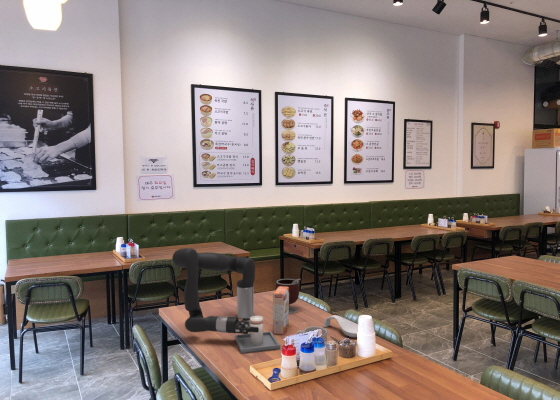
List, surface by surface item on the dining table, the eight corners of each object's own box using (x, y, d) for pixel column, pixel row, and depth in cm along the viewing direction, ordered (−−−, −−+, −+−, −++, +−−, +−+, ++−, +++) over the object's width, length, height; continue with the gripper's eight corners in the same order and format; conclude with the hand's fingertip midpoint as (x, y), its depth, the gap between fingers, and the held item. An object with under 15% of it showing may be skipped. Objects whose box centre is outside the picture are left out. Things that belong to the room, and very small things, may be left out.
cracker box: (284, 335, 219) (284, 293, 218) (272, 334, 221) (272, 293, 219) (289, 325, 233) (289, 286, 232) (278, 324, 234) (278, 285, 233)
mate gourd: (270, 311, 255) (270, 277, 254) (283, 305, 267) (283, 272, 266) (294, 316, 247) (294, 281, 246) (306, 309, 259) (306, 276, 257)
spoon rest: (370, 335, 219) (370, 321, 218) (356, 342, 211) (356, 327, 210) (332, 324, 236) (332, 310, 235) (318, 329, 227) (318, 316, 227)
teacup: (329, 344, 208) (329, 327, 207) (324, 353, 198) (324, 336, 197) (300, 340, 212) (300, 324, 212) (294, 349, 202) (294, 332, 202)
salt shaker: (249, 340, 211) (248, 316, 210) (261, 339, 212) (261, 315, 211) (251, 345, 205) (251, 320, 204) (264, 344, 206) (264, 319, 205)
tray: (234, 338, 215) (234, 334, 215) (270, 335, 219) (270, 331, 219) (241, 353, 197) (241, 349, 197) (280, 349, 202) (280, 345, 202)
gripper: (222, 321, 203) (257, 324, 200) (231, 312, 217) (263, 313, 214) (222, 337, 204) (257, 340, 201) (231, 327, 218) (263, 328, 215)
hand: (260, 326), depth 207 cm, fingers open, 8 cm apart
